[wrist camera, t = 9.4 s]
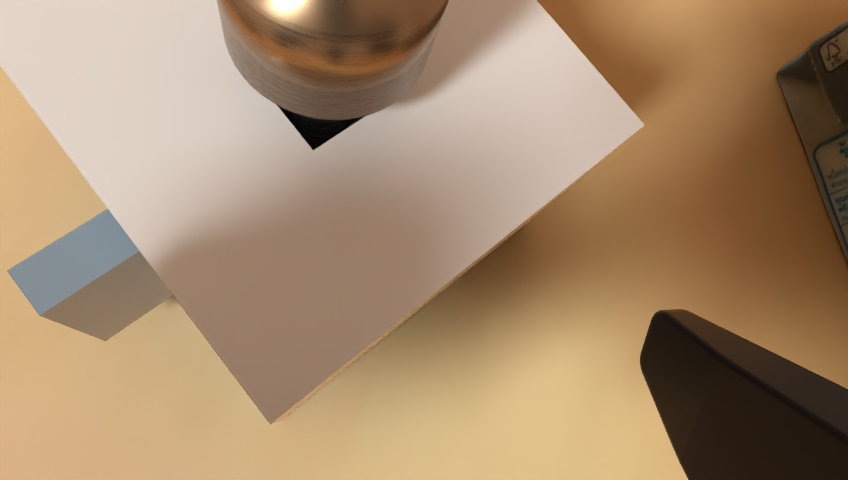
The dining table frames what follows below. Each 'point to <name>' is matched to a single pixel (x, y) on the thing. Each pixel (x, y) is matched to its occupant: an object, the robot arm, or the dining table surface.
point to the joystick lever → (330, 55)
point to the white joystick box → (292, 178)
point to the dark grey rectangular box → (823, 118)
